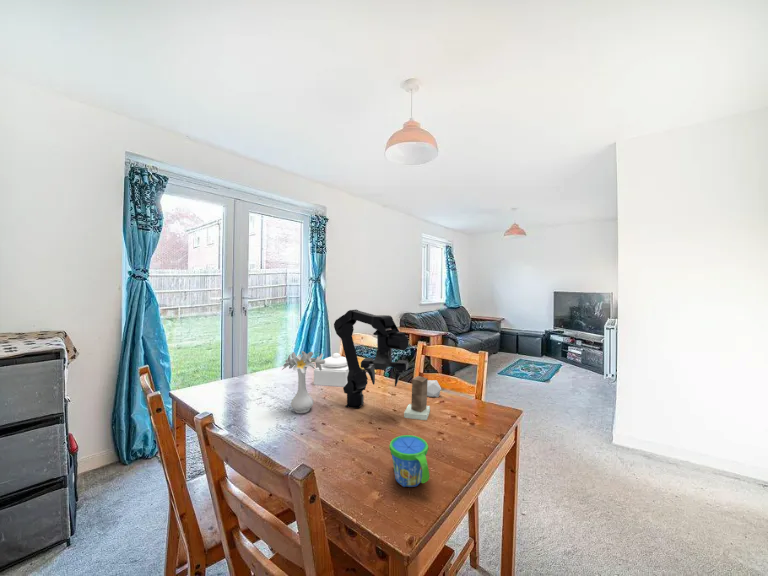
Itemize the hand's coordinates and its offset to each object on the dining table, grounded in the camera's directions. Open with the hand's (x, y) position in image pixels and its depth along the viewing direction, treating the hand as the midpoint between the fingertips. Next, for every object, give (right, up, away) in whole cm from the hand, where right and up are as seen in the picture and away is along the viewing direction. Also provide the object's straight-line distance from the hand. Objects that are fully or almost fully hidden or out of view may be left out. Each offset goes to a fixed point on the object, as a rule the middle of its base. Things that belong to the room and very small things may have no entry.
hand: (384, 385), depth 128 cm
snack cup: (+7, -14, -40) cm, 43 cm away
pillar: (+14, -10, 0) cm, 17 cm away
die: (+22, -13, +21) cm, 33 cm away
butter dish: (-27, -12, +46) cm, 55 cm away
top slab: (+13, -12, 0) cm, 18 cm away
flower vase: (-35, -13, +8) cm, 38 cm away
